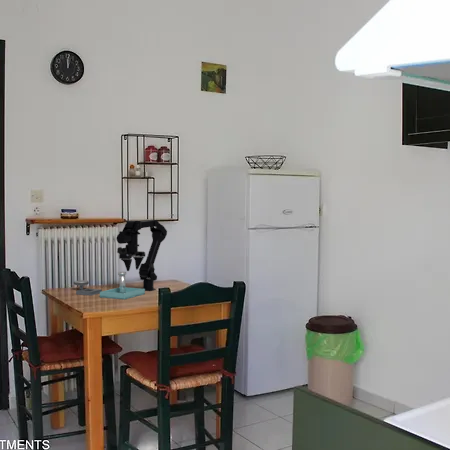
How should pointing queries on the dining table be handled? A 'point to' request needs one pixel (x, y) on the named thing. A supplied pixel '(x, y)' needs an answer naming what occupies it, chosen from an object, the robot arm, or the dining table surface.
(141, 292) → the tray
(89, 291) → the pin collar
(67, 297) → the dining table surface
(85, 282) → the silver round knob
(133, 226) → the robot arm
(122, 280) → the pin
